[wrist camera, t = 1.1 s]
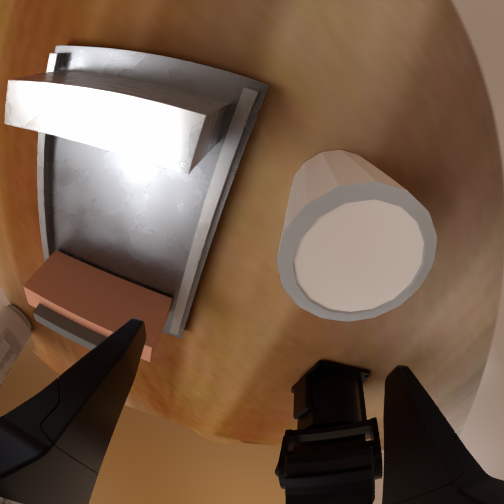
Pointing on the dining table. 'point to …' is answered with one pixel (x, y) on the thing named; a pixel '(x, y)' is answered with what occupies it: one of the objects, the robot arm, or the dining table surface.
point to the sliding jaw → (93, 303)
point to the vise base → (135, 161)
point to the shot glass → (352, 239)
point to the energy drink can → (12, 337)
